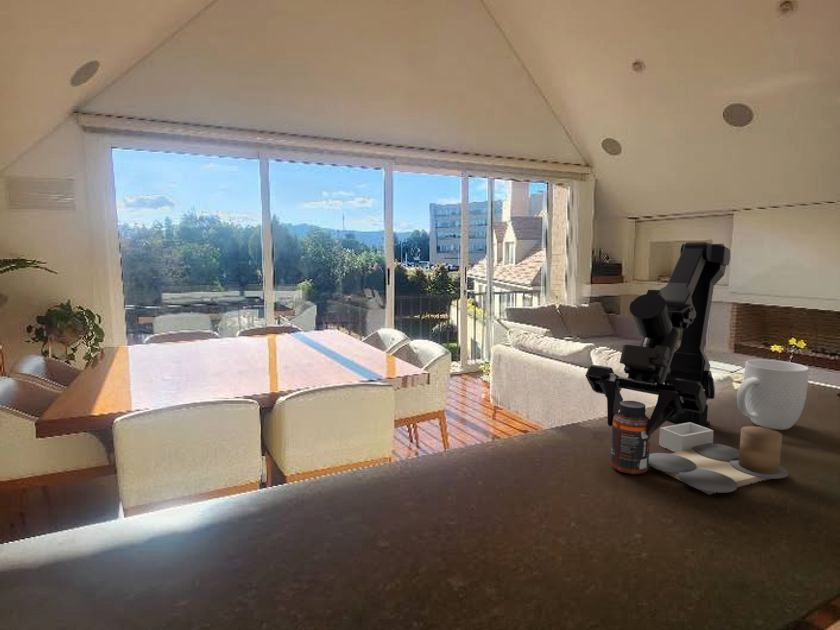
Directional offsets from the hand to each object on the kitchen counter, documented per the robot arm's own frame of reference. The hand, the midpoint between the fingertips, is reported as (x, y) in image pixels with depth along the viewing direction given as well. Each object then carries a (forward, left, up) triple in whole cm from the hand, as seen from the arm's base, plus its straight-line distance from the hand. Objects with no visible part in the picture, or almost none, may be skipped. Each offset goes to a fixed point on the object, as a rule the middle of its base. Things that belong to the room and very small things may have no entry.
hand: (627, 429), depth 83 cm
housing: (-4, +19, -7) cm, 20 cm away
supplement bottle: (-1, +1, -7) cm, 7 cm away
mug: (-6, +45, -8) cm, 46 cm away
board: (+5, +14, -7) cm, 17 cm away
